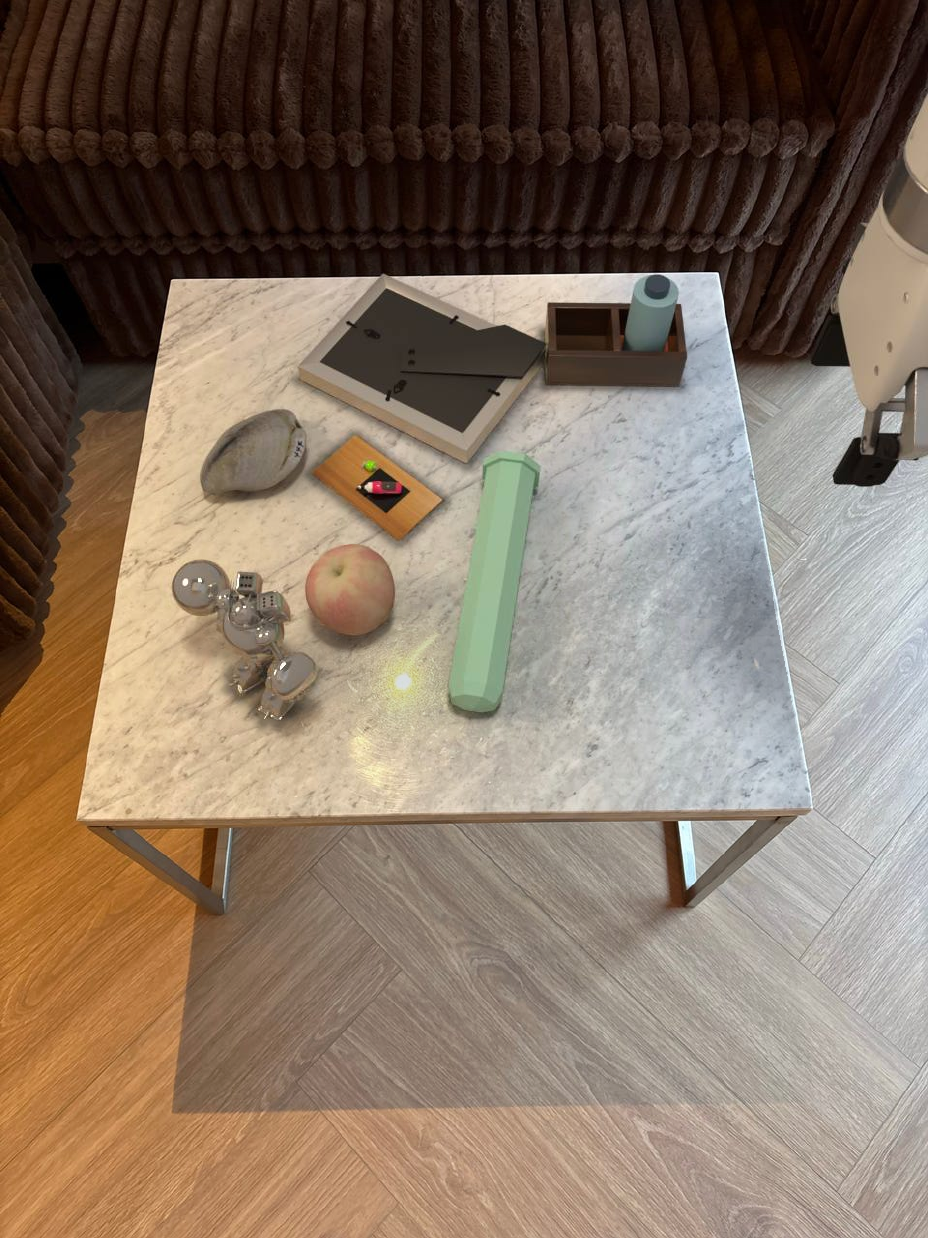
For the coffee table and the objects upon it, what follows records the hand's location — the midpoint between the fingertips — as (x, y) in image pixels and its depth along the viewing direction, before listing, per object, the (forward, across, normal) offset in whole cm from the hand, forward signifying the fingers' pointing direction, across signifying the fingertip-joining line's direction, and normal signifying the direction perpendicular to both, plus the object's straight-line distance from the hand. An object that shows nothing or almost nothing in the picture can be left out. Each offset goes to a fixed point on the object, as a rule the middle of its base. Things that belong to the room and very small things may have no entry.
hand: (844, 419), depth 62 cm
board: (+28, +14, +34) cm, 47 cm away
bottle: (+28, +31, +7) cm, 42 cm away
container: (+28, +2, +22) cm, 36 cm away
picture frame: (+28, +29, +30) cm, 50 cm away
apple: (+28, 0, +35) cm, 45 cm away
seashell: (+28, +16, +46) cm, 56 cm away
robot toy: (+28, -6, +43) cm, 52 cm away
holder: (+28, +31, +10) cm, 43 cm away
